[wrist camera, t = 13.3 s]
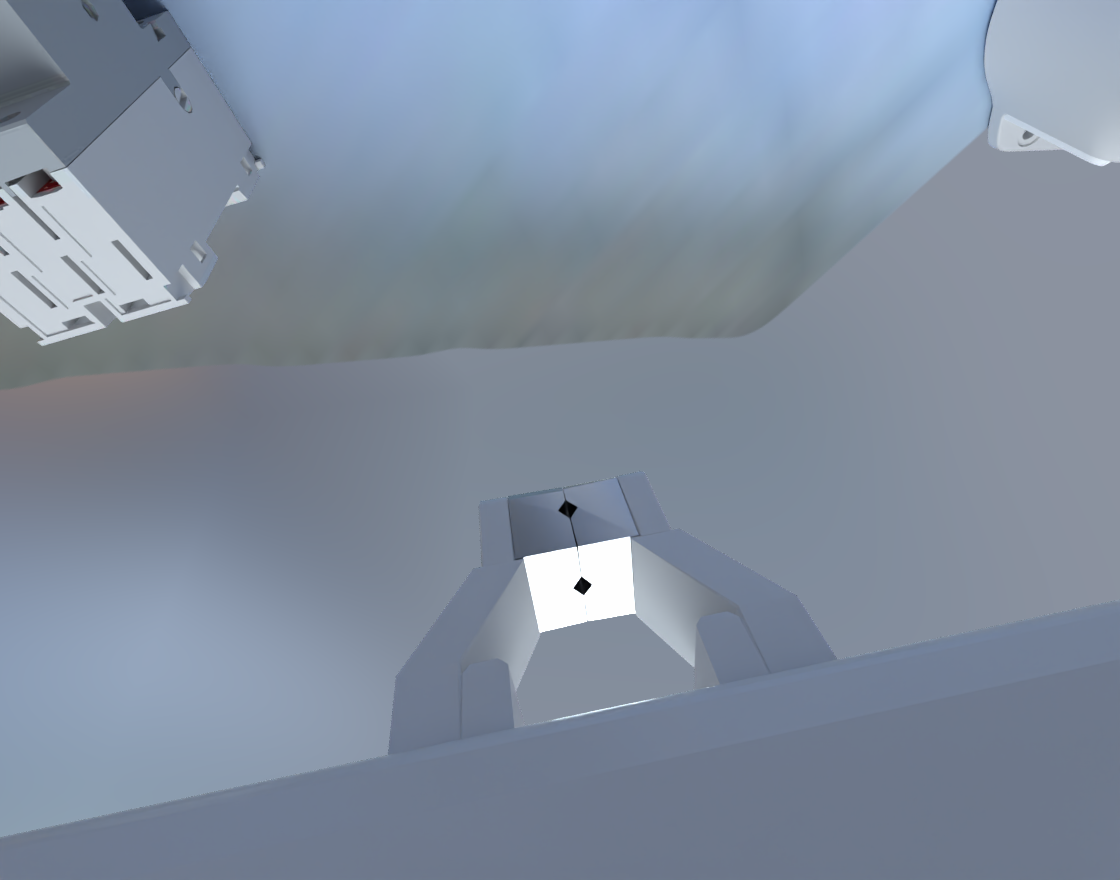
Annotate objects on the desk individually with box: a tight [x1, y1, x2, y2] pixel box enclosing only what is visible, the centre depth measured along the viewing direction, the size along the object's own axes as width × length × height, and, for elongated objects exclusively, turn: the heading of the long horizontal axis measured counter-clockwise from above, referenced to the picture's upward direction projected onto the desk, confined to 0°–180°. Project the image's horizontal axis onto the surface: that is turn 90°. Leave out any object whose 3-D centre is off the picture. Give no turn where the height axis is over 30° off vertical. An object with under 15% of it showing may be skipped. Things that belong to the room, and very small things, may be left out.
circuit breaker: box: [0, 0, 265, 346], centre depth 26 cm, size 8×14×15 cm, turn 13°
